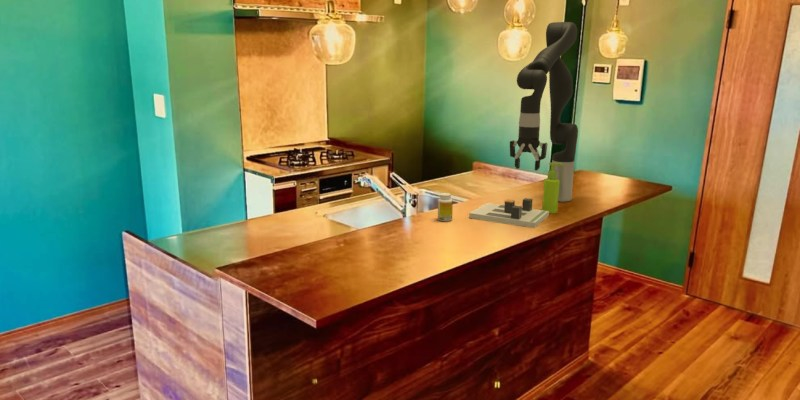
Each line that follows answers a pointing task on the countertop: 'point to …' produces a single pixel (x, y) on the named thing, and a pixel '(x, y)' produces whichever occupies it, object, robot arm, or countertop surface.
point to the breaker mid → (509, 205)
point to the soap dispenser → (551, 190)
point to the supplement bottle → (445, 207)
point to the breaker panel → (508, 215)
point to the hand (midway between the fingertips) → (526, 169)
